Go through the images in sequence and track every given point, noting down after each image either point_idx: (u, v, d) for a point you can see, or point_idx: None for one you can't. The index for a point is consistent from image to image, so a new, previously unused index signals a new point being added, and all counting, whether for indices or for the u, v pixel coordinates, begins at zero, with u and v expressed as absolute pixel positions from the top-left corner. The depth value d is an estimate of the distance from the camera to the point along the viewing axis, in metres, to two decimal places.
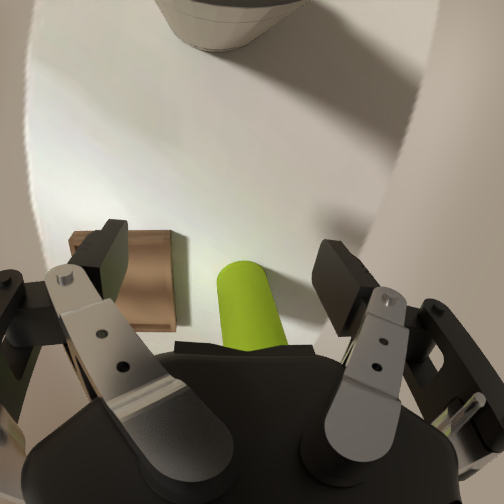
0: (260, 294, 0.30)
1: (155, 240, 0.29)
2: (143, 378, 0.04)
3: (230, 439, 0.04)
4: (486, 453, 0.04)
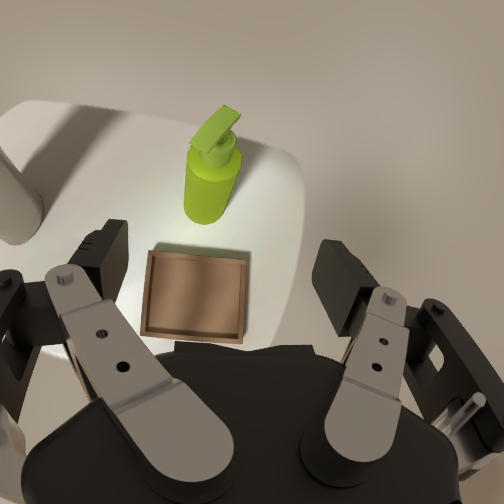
0: None
1: (147, 260, 0.38)
2: (143, 378, 0.04)
3: (230, 438, 0.04)
4: (486, 453, 0.04)
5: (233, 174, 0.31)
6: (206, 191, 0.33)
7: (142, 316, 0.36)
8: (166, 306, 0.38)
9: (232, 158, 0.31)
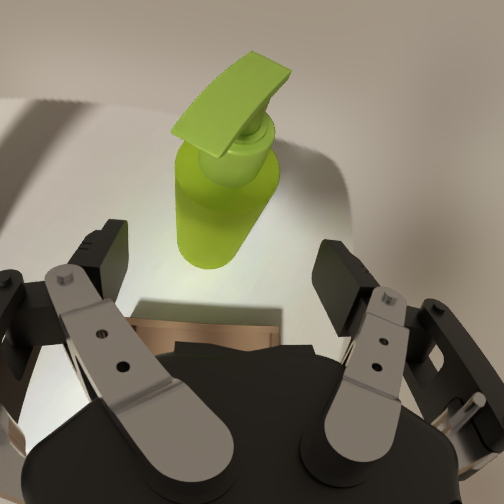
0: None
1: None
2: (143, 378, 0.04)
3: (230, 439, 0.04)
4: (486, 453, 0.04)
5: (266, 198, 0.16)
6: (213, 229, 0.18)
7: None
8: None
9: (262, 166, 0.16)
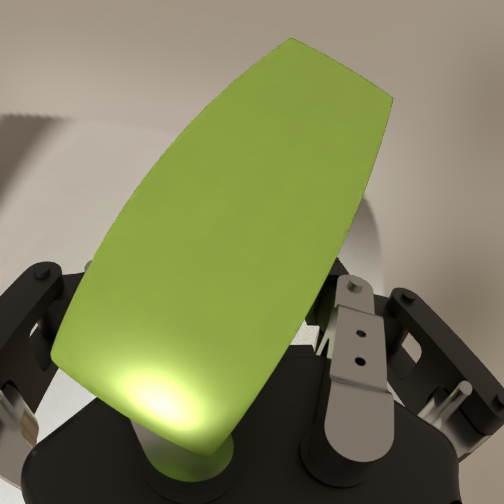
0: None
1: None
2: None
3: (232, 446, 0.04)
4: (479, 438, 0.05)
5: None
6: None
7: None
8: None
9: None
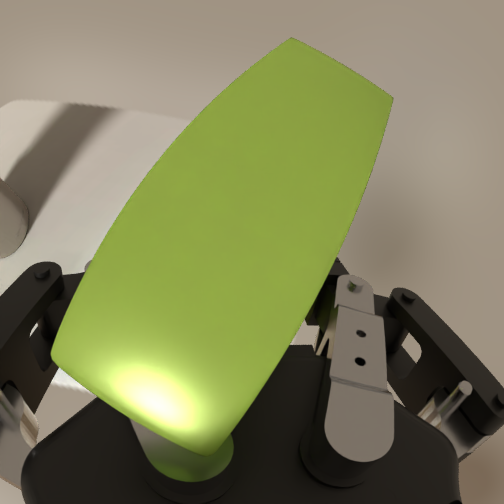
0: None
1: None
2: None
3: (232, 446, 0.04)
4: (479, 437, 0.05)
5: None
6: None
7: None
8: None
9: None
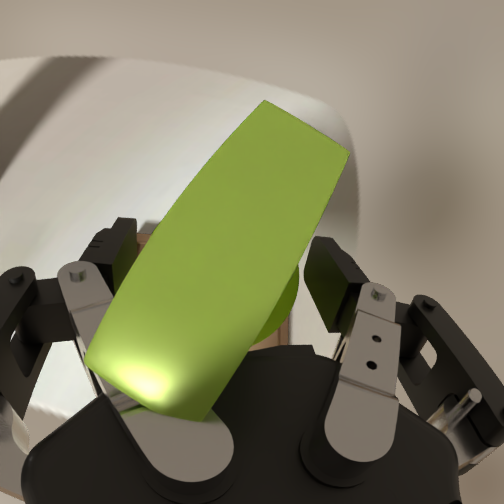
0: None
1: None
2: None
3: (231, 440, 0.04)
4: (484, 448, 0.05)
5: (279, 322, 0.11)
6: None
7: None
8: None
9: None
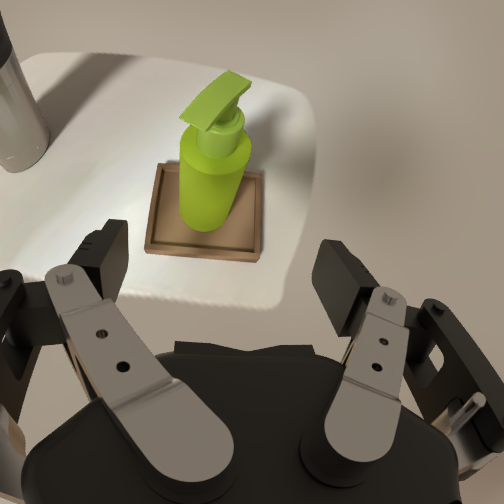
0: None
1: (156, 172, 0.35)
2: (143, 378, 0.04)
3: (230, 438, 0.04)
4: (486, 453, 0.04)
5: (241, 165, 0.24)
6: (205, 189, 0.25)
7: (148, 227, 0.33)
8: (175, 219, 0.35)
9: (239, 145, 0.24)
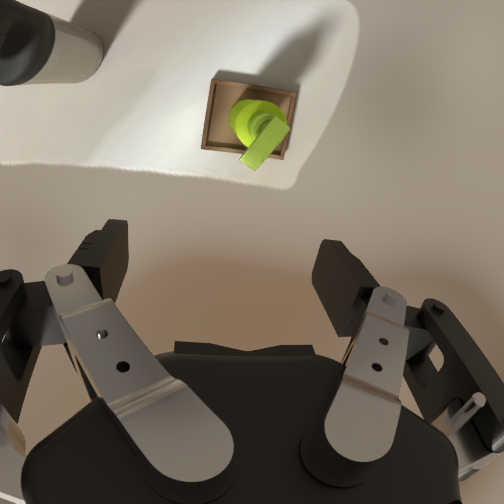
0: (233, 110, 0.38)
1: (210, 87, 0.40)
2: (143, 378, 0.04)
3: (230, 438, 0.04)
4: (486, 453, 0.04)
5: None
6: None
7: (203, 133, 0.43)
8: (224, 125, 0.44)
9: None
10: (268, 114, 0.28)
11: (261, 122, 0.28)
